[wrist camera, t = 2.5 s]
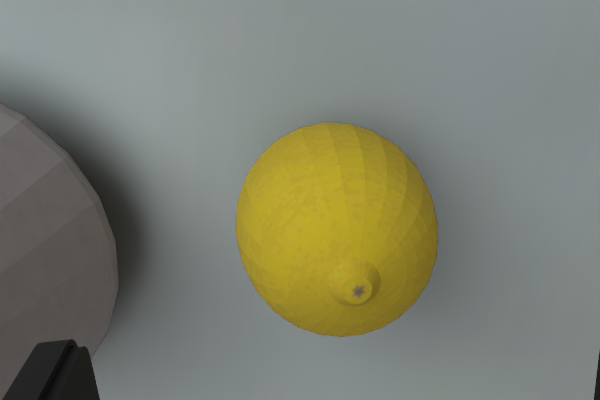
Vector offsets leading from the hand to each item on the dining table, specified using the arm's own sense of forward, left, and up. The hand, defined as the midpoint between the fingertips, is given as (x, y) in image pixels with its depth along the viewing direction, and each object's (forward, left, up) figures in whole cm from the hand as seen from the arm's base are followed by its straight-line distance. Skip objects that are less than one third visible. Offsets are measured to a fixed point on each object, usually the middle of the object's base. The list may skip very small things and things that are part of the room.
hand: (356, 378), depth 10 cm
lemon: (0, 0, -11) cm, 11 cm away
